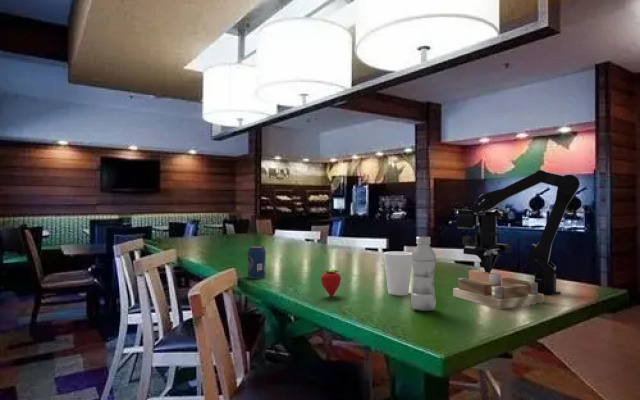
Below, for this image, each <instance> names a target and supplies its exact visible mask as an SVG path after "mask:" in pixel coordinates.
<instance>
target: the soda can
mask: <svg viewBox="0 0 640 400" xmlns="http://www.w3.org/2000/svg"><path fill="white" fill-rule="evenodd" d="M266 256H267V253H266V249H265V246H263V245H252V246H249V247H248V250H247V275H248V277H249V278H250V279H262V277H263V278H264V277H265V276H266V274H267V272H266V271H267V269H266V262H267V260H266V258H267V257H266Z"/></svg>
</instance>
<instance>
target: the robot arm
mask: <svg viewBox="0 0 640 400" xmlns="http://www.w3.org/2000/svg"><path fill="white" fill-rule="evenodd" d="M542 183H543V184H546V185H548V186H549V185H550V186H553V187H557V189H556V195H555V202H554V203H553V206H552V209H551V211H550V213H549V216H548V219H547V221H546V224H545V227H544V228H543V229H544V230H543V231H542V234H541V237H540V238H539V241H538V242H537V243H536V244H535V243H532V244H530V249H529V253H528V254H527V255H526V257H528V258H527V263H528V266H529V267H530V268H531V269H533V270H534V272H535V273H534V279H533V280H534V281H533V282H536V283H538V293H540V294H544V296H545V295H546V296H551V295H552V296H553V295H559V294H561V293H562V292H561V291H557V274H556V273H555V271H556V269H557V266H556V265H555V264H554V263H553V262H552V261H550V257H551V253H552V252H551V251H552V248H553V247H552V246H553V243H554V239H555V238H556V234H557V232H558V230H559V227H560V225H561V222H562V220H563V217H564V215H565V213H566V210H567V207H568V206H569V204H570V203H571V201H572V199H573V198H574V196H575V195H576V193H577V191H578V190H579V188H580V186H581V185H580V184H581V182H580V180H579V178H578V177H577V176H575V175H573V174H566V175H559V174H556V173H552V172H548V171H545V170H542V169H539V170H537V171H535V172H533V173H531V174H529V175H528V176H526V177H524V178H521V179H519V180H517V181H515V182H513V183H511V184H509V185H507V186H505V187H502V188H499V189H495V190H492V191H488V192H486V193H482V194H480V195H479V196H478V199H477V203H476V205H475V206H474V207H473V209H471V210H469V209H458V210H457V215H456V218H455V223H456V224H455V225H456V228H457V229H467V230H469V229H472V230H473V229H475V227H477V226H478V231H476V232H475V235H474V236H470V235H464V236H462V245H464V247H463V250H462V251H463V252H462V253H463V254H464V255H469V256H470V255H472V256H477V258H479V260H480V261H481V264H482V267H483V270H484V272H488V273H492V270H493V268H494V266H495V264H496V263H497V261H498V259H499V258H500V257H501V256H502V254H501V253H499V252H504V253H506V254H508V253H512V246H511V245H510V244H509V243H498V241H497V237H498V236H500V231H499V232H497V219H498V218H497V217H499V218H500V217H503V215H504V214H502V213H501V212H500V210H499V209H495V208H497V207H498V206H500V205H501V204H503V203H504V202H505V201H506V200H508V199H510V198H512V197H513V196H517V195H518V194H520V193H522V192H524V191H526V190H529V189H531V188H533V187H535V186H537V185H539V184H542ZM494 209H495V210H494ZM489 210H494V211H489ZM484 212H485V213H484ZM479 213H484V214H479Z"/></svg>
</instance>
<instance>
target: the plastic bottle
mask: <svg viewBox="0 0 640 400" xmlns="http://www.w3.org/2000/svg"><path fill="white" fill-rule="evenodd" d="M415 240H416V242H415V243H416V247H415V248H414V249H413V251H412V252H411V253H412V256H411V257H412V275H413V276H412V277H413V278H412V281H413V282H412V292H411V294H410V303H411V307H412V308H413V309H414V310H416V311H420V312H426V311H427V312H429V311H433V310H434V309H435V308H436V303H437V302H436V301H437V299H436V294H435V285H434V284H435V283H434V279H435V278H434V276H435V266H436V259H437V257H436V256H437V255H436V253H435V251H434V250H433V248H432V247H431V246H430V245H431V243H432V242H431V237H430V236H416V239H415Z"/></svg>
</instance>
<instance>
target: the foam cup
mask: <svg viewBox="0 0 640 400" xmlns="http://www.w3.org/2000/svg"><path fill="white" fill-rule="evenodd" d="M412 253H413V252H410V251H385V252H383V262H384V269H385V276H386V284H387V292H388V294H389V295H393V296H407V295H408V294H409V292H410V284H411V277H412V271H413V266H412V257H411V256H412Z"/></svg>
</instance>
